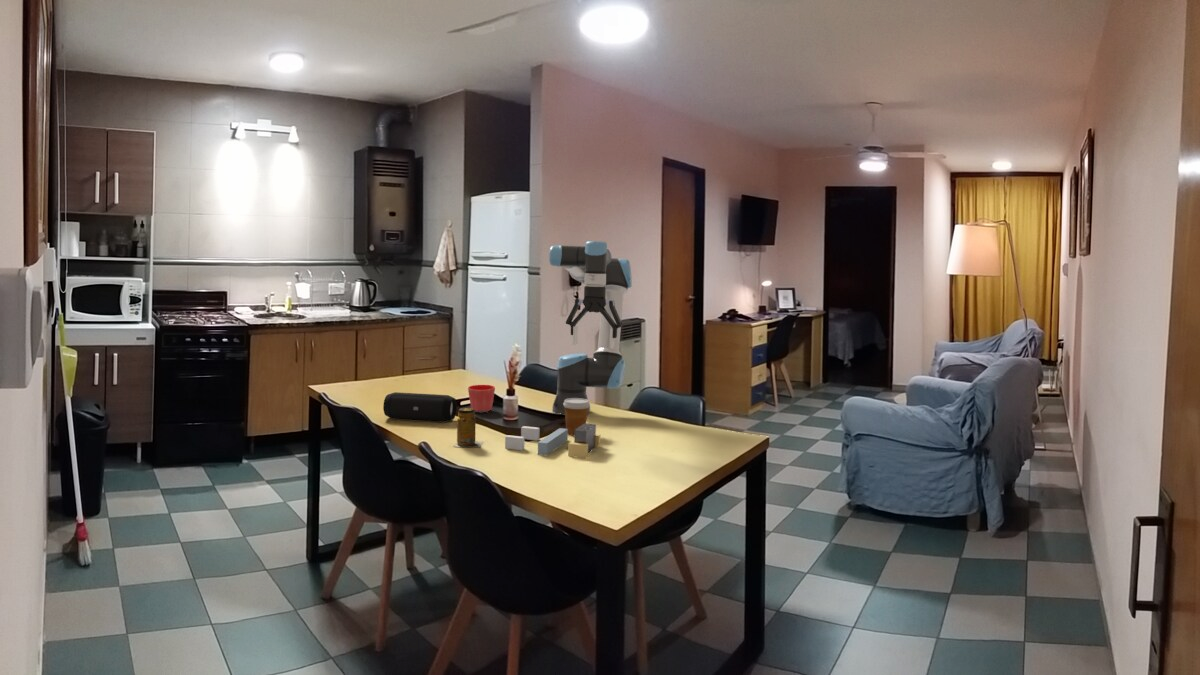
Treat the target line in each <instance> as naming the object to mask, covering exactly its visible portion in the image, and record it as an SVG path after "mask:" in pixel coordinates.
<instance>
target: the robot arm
mask: <svg viewBox="0 0 1200 675" xmlns="http://www.w3.org/2000/svg"><path fill="white" fill-rule="evenodd" d="M548 254H549V255H548V261H549V264H550V265H551V266H553V267H558V268H560V267H562V268H564V269H565V270H566V271H567V272H568V274H569V275H570V277H571V278H572V279H574V280H575V281H577V282H579V283H581V284H584V285H585V286H583V287H584V288H583V290H584V292H583V299H581V298H580V297H579V298H575V299H574V305H573V307H572V309H571V311H570V312H569V315H568V317H567V318H566V321H565V324H566V325H568V326H570V335H571V336H572V345H573V346H576V345H578V334H579V332H578V330H579V326H578V325H577V324H578V323H579V322H581V319H583V317H585V315H586V313H600V319H599V330H598V342H597V350H595V351H594V352H593V356H592V357H588V354H587V353H569V354H565V355H561V356H560V357H559V358H558V360H557V367H556V368H557V385H556V386H557V387H556V388H557V389H556V395H555V398H554V400H553V404H552V409H551V411H552V412H553V413H554V412H555V413H554V414H557V413H561V414H565V408H564V405H563V403H564V400H565V399H569V398H582V399H587V400H588V401H589V398H588V395H587V388H598V389H600V388H601V389H608V390H609V389H618V388H620V387H621V386H622V384H623V380H624V377H625V372H626V366H627V364H626V360H625V359H624V358H623V355H622V353H621V352H620V343H621V329H622V327H623V323H622V317H623V306H624V304H623V302H624V296H625V295H626V294H627V293H628V289H629V288H632V286H633V278H632V267H631V263H630V260H628V259H625V258H620V257H617V258H615V257H613V258H612V253H611V251H610V250H609V249H608V244H607V242H606V241H598V240H597V241H596V240H589V241H586V243H585V246H582V245H579V246H577V245H561V244H559V245H552V246H550V248H549V253H548ZM582 305H584V307H583V309H581V311H580V312H579V313H578V314H577V312H578V310H579V308H580V306H582ZM576 314H577V316H576ZM575 316H576V317H575ZM574 317H575V318H574ZM589 413H591V405H590V406H589V407H588V413H587V415H588V414H589ZM561 414H560V415H561Z"/></svg>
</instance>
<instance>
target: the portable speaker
mask: <svg viewBox="0 0 1200 675" xmlns="http://www.w3.org/2000/svg"><path fill="white" fill-rule="evenodd" d="M382 409H383V413H384V416H385V417H388V418H390V419H392V420H401V421H402V420H403V421H418V422H432V423H433V422H436V423H437V422H438V423H447V422H449V421H453V420H455V418H456V415H457V409H458V404H457V400H456V398H455V397H454V396H451V395H448V394H435V393H434V394H432V393H413V392H392V393H389V394H387V395H385V397H384V400H383V408H382Z"/></svg>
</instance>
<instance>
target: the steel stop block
mask: <svg viewBox="0 0 1200 675" xmlns="http://www.w3.org/2000/svg"><path fill="white" fill-rule="evenodd" d="M596 431H597V424H595V423H587V422H586V423H584V424H583V425H581V426H580V427H578V428H577V429H575V436H574V437H573V438H574V439H573V440H574V441H573V442H574V443H583V444H588V454H589V453H591V452H592V451H593V450H594V449H595V448H596V447H595V437H596V434H597V433H596ZM591 450H592V451H591ZM590 451H591V452H590Z"/></svg>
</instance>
